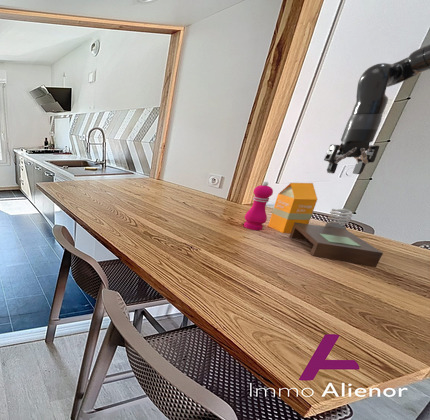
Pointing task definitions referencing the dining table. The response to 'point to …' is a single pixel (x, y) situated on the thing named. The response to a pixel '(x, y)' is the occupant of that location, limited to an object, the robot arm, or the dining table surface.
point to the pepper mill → (258, 207)
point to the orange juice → (293, 206)
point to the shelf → (336, 244)
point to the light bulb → (342, 220)
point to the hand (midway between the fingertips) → (343, 173)
